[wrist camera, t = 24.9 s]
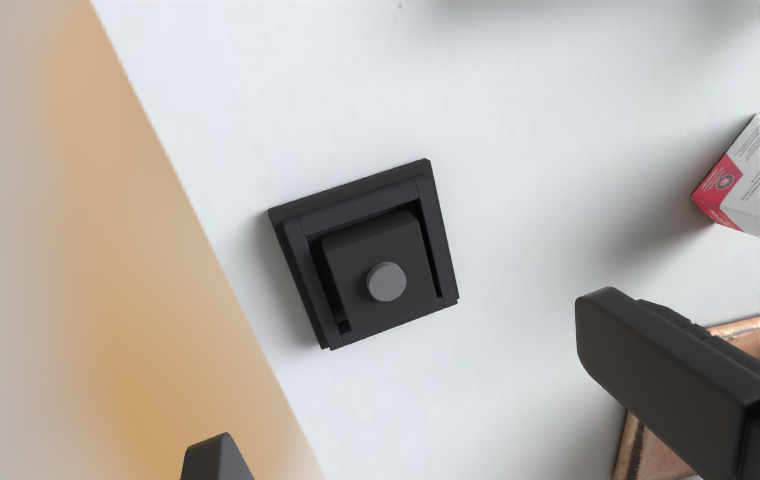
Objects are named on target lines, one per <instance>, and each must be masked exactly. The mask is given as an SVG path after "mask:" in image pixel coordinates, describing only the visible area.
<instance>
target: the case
mask: <svg viewBox="0 0 760 480" xmlns="http://www.w3.org/2000/svg"><path fill="white" fill-rule="evenodd" d="M706 330H708V331H710V333H711V334H712V335H713V336H714V335H717V336H718V337H720V338H722V339H724V340H725V341H727V342H729V343H731V344H732V345H734V346H736V347H738V348H739V349H741V350H743V351H744V352H746V353H748V354H750V355H751V356H753V357H755V358H757V359H758V360H760V316H759V317H754V318H750V319H745V320H742V321H737V322H734V323H729V324H724V325H720V326H715V327H711V328H707V329H706ZM693 475H698V474H697V473H696V472H695V471H694V470H693V469H692V468H691V467H690V466H688V465H687V464H686V463H685V462H684V461H683V460H682V459H681V458H680V457H679V456H677V455H676V454H675V453H674V452H673V451H672V450H671V449H670V448H669V447H668V446H667V445H665V444H664V443H663V442H662V441H661V440H660V439H659V438H658V437H657V436H656V435H654V434H653V433H652V432H651V431H650V430H649V429H648V428H647V427H646V426H645V425H644V424H642V423H641V422H640V421H639V420H638V419H637V418H636V417H635V416H634V415H633V414H631V413H630V412H629V411H628V414H627V419H626V424H625V428H624V433H623V436H622V441H621V445H620V450H619V454H618V459H617V463H616V467H615V471H614V477H613V478H614V480H680V479H683V478H687V477H690V476H693Z"/></svg>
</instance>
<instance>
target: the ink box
mask: <svg viewBox="0 0 760 480" xmlns="http://www.w3.org/2000/svg"><path fill="white" fill-rule="evenodd" d="M691 200H692V201H693V202H694V203H695V204H696V205H697V206H698V207H699V208H700V209H701V210H702V211H703V212H704V213H705V214H706V215H707V216H709V217H710V218H711V219H712V220H713V221H715V222H716V223H717V224H720V225H723V226H726V227H729V228H733V229H735V230H739V231H742V232H745V233H748V234H751V235H754V236H757V237H760V112H759V113H757V114H756V116H755V117H754V118H753V119H752V121H751V122H750V123H749V124H748V126H747V127H746V128H745V129H744V131H743V132H742V133H741V134H740V136H739V137H738V138H737V139H736V141H735V142H734V143H733V145H732V146H731V147H730V148H729V149H728V151H727V152H726V153H725V155H724V156H723V157H722V158H721V160H720V161H719V162H718V163H717V165H716V166H715V167H714V168H713V170H712V171H711V172H710V173H709V175H708V176H707V177H706V178H705V180H704V181H703V182H702V183H701V184H700V186H699V187H698V188H697V190H696V191H695V192H694V193H693V194H692V196H691Z"/></svg>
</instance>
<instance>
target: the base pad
mask: <svg viewBox="0 0 760 480" xmlns="http://www.w3.org/2000/svg"><path fill="white" fill-rule="evenodd" d="M401 208H405V209H406V210H407V211H408V212H409V213H410V214H411V215H412V216H413V217H414V218H415V219H417V220H418V222H419V226H420V230H421V234H422V239H423V243H424V247H425V251H426V255H427V260H428V264H429V268H430V272H431V276H432V280H433V285H434V289H435V293H436V297H437V302H434V303H432V304H429V305H426V306H423V307H421V308H418V309H415V310H413V311H410V312H407V313H405V314H402V315H399V316H397V317H394V318H391V319H389V320H386V321H383V322H380V323H378V324H375V325H372V326H370V327H367V328H364V329H362V330H359V331H356V332H354V333H353V332H352V330H351V328H350V325H349V322H348V319H347V316H346V313H345V310H344V307H343V305H342V302H341V299H340V296H339V293H338V290H337V287H336V284H335V282H334V279H333V276H332V273H331V270H330V267H329V264H328V261H327V259H326V256H325V253H324V250H323V247H322V244H321V241H320V238H319V236H321V235H324V234H327V233H330V232H333V231H336V230H339V229H342V228H345V227H348V226H351V225H354V224H357V223H360V222H363V221H366V220H368V219H371V218H374V217H377V216H380V215H383V214H386V213H389V212H392V211H395V210H398V209H401ZM268 215H269V218H270V220H271V223H272V225H273V228H274V230H275V233H276V235H277V238H278V240H279V243H280V245H281V248H282V251H283V253H284V256H285V258H286V261H287V263H288V266H289V268H290V271H291V273H292V276H293V278H294V281H295V284H296V286H297V289H298V291H299V294H300V296H301V299H302V301H303V304H304V306H305V309H306V312H307V314H308V317H309V319H310V322H311V324H312V327H313V329H314V332H315V334H316V337H317V339H318V342H319V345H320V347H321V349H322V350H323V349H325V348H328V347H329V348H330V350H331V351H332V350H335V349H338V348H340V347H343V346H344V345H345V346H346V345H349V344H351V343H354V342H357V341H359V340H362V339H365V338H367V337H370V336H373V335H375V334H378V333H381V332H383V331H386V330H389V329H391V328H394V327H397V326H399V325H402V324H405V323H407V322H410V321H412V320H415V319H418V318H420V317H423V316H426V315H428V314H431V313H434V312H436V311H439V310H442V309H444V308H447V307H450V306H453V305H455V304H457V303H458V302H457V299H459V293H458V288H457V284H456V279H455V274H454V270H453V265H452V260H451V255H450V251H449V246H448V241H447V237H446V232H445V227H444V223H443V218H442V213H441V209H440V204H439V199H438V195H437V190H436V185H435V181H434V176H433V171H432V167H431V162H430V160H428V159H426V158H424V159H421V160H418V161H415V162H412V163H409V164H406V165H402V166H399V167H396V168H393V169H390V170H387V171H384V172H381V173H378V174H375V175H372V176H369V177H366V178H363V179H360V180H356V181H353V182H350V183H347V184H344V185H341V186H338V187H335V188H332V189H329V190H326V191H323V192H320V193H317V194H314V195H310V196H307V197H304V198H301V199H298V200H295V201H292V202H289V203H286V204H283V205H280V206H277V207H274V208H271V209H269V210H268Z"/></svg>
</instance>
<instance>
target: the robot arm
mask: <svg viewBox="0 0 760 480" xmlns="http://www.w3.org/2000/svg"><path fill="white" fill-rule="evenodd" d="M575 323H576V342H577V353H578V356H579V359H580V361H581V363H582V365H583V367H584V368H585V370H586V371H587V373H588V374H589V375H590V376H591V377H592V378H593V379H594V380H595V381H596V382H598V383H599V384H600V385H601V386H602V387H603V388H604V389H605V390H606V391H607V392H608V393H610V394H611V395H612V396H613V397H614V398H615V399H616V400H617V401H618V402H619V403H621V404H622V405H623V406H624V407H625V408H626V409H627V410H628V411H629V412H630V413H631V414H633V415H634V416H635V417H636V418H637V419H638V420H639V421H640V422H641V423H642V424H644V425H645V426H646V427H647V428H648V429H649V430H650V431H651V432H652V433H653V434H654V435H656V436H657V437H658V438H659V439H660V440H661V441H662V442H663V443H664V444H665V445H667V446H668V447H669V448H670V449H671V450H672V451H673V452H674V453H675V454H676V455H677V456H679V457H680V458H681V459H682V460H683V461H684V462H685V463H686V464H687V465H688V466H690V467H691V468H692V469H693V470H694V471H695V472H696V473H697V474H698V475H699V476H701V477H702V478H703V479H704V480H760V360H758V359H757V358H755V357H753V356H751V355H750V354H748V353H746V352H744V351H743V350H741V349H739V348H738V347H736V346H734V345H732V344H731V343H729V342H727V341H725V340H724V339H722V338H720V337H718V336H717V335H714V336H713V335H712V334H711V333H710V331H708V330H706V329H705V328H703V327H701V326H699V325H698V324H696V323H695V324H692V323H691V320H689V319H687V318H685V317H684V316H682V315H680V314H678V313H677V312H675V311H673V310H672V309H670V308H668V307H665V306H662V305H658V304H655V303H652V302H649V301H645V300H642V299H639V300H634V299H632V298H631V297H629V296H627V295H626V294H624V293H622V292H621V291H619V290H617V289H616V288H613V287H605V288H602V289H599V290H597V291H594V292H592V293H589V294H586V295H584V296H581V297H579V298H577V299H576V301H575ZM180 480H255V479H254V477H253V475H252V473H251V472H250V470H249V469H248V466H247V464H246V462H245V461H244V459H243V457H242V455H241V453H240V451H239V449H238V448H237V446H236V444H235V442H234V440H233V439H232V437H231V435H230V434H229V433H227V432H225V433H222V434H220V435H217V436H215V437H212V438H209V439H207V440H204V441H202V442H199V443H196V444H194V445H192V446H189V447H188V448H187V450H186V453H185V457H184V463H183V468H182V474H181V479H180Z"/></svg>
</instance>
